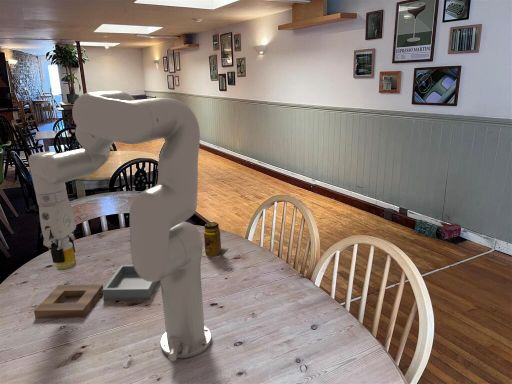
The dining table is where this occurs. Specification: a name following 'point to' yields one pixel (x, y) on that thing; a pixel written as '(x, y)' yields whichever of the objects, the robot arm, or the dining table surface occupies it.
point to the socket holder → (57, 309)
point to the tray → (128, 285)
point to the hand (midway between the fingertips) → (64, 256)
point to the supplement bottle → (66, 256)
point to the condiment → (212, 241)
